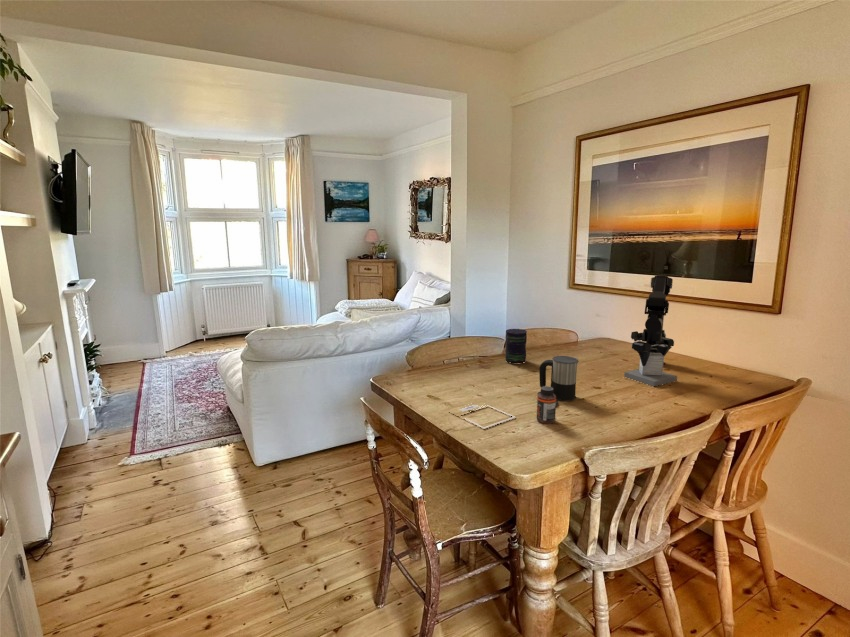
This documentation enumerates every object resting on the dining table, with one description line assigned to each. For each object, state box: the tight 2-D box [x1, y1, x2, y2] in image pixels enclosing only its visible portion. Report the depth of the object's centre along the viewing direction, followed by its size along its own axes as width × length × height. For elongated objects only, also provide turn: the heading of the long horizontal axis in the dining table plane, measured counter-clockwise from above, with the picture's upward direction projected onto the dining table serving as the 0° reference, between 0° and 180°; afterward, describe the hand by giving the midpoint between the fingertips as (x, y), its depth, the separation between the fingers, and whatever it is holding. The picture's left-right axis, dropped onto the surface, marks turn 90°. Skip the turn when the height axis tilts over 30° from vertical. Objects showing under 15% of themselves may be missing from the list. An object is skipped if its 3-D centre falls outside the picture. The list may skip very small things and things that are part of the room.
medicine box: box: [638, 353, 665, 376], centre depth 187 cm, size 8×4×9 cm, turn 81°
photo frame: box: [459, 404, 517, 430], centre depth 154 cm, size 15×1×18 cm
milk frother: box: [537, 355, 579, 405], centre depth 166 cm, size 14×16×15 cm
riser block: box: [623, 368, 678, 388], centre depth 188 cm, size 14×14×3 cm
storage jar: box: [504, 328, 528, 363], centre depth 214 cm, size 10×10×15 cm
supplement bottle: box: [536, 385, 557, 425], centre depth 148 cm, size 6×6×11 cm
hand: (651, 364), depth 187 cm, fingers open, 9 cm apart
